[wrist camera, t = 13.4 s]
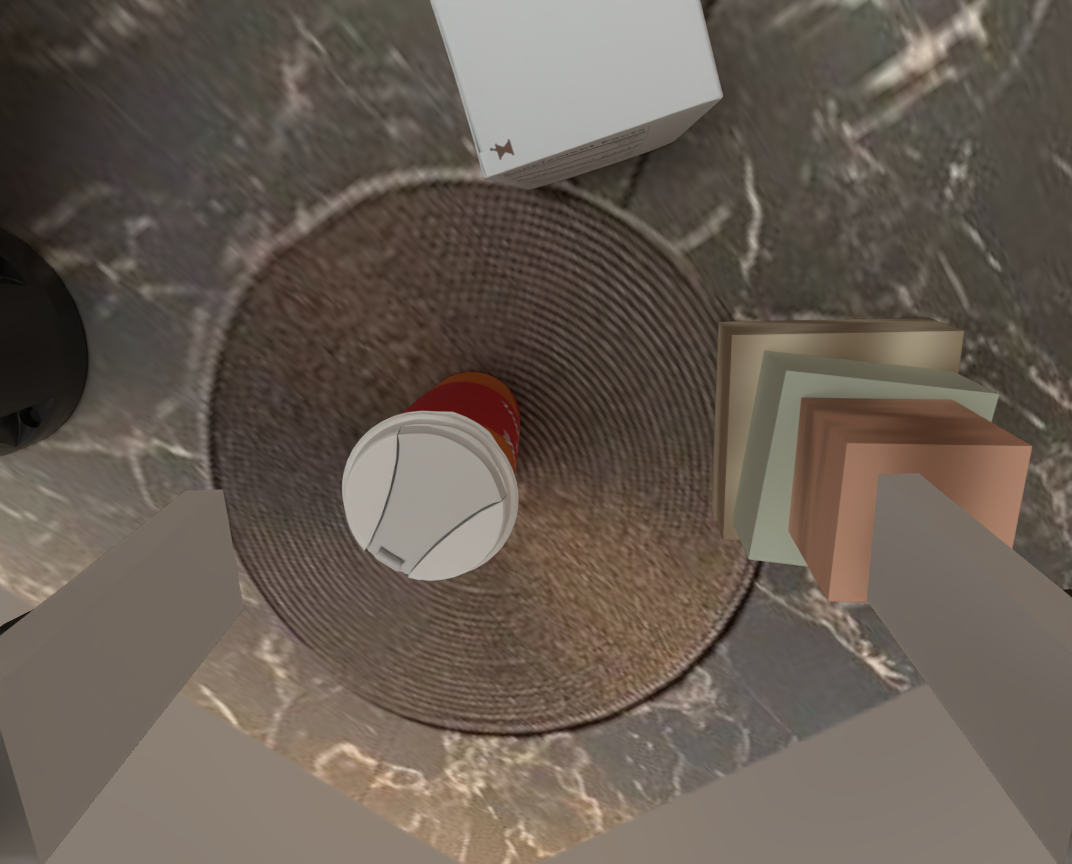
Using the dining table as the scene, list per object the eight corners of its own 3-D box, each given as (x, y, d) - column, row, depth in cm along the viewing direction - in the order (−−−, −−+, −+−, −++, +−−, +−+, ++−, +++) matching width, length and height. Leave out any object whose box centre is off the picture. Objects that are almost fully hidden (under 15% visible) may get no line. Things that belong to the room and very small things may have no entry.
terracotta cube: (787, 531, 39) (828, 601, 32) (801, 397, 37) (846, 443, 30) (930, 534, 39) (1000, 606, 32) (952, 399, 36) (1032, 445, 30)
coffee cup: (493, 501, 50) (453, 623, 36) (385, 433, 49) (300, 529, 35) (565, 398, 48) (553, 484, 33) (453, 324, 47) (391, 380, 33)
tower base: (710, 506, 50) (723, 539, 45) (717, 321, 46) (731, 335, 41) (903, 506, 49) (936, 539, 44) (924, 316, 45) (964, 330, 40)
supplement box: (680, 142, 43) (732, 108, 27) (524, 194, 44) (484, 192, 28) (634, -42, 41) (661, -200, 24) (470, 19, 42) (393, -92, 26)
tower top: (731, 520, 44) (748, 559, 40) (764, 350, 41) (786, 370, 37) (907, 541, 44) (944, 582, 39) (952, 371, 41) (999, 394, 36)
